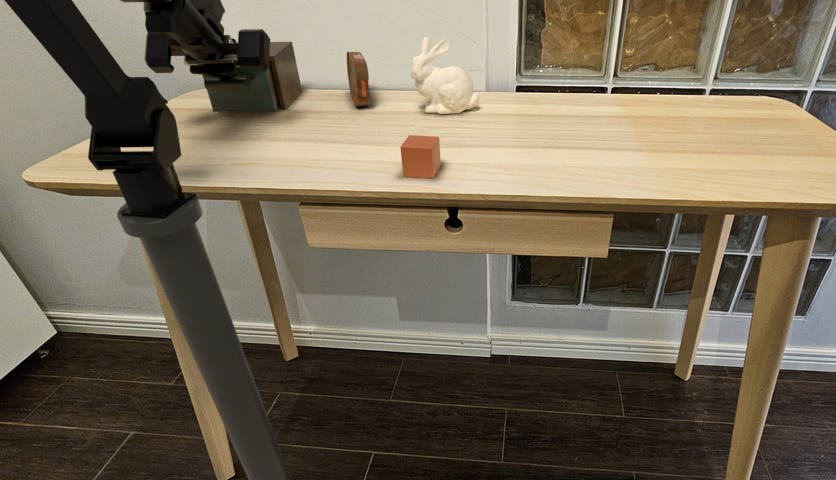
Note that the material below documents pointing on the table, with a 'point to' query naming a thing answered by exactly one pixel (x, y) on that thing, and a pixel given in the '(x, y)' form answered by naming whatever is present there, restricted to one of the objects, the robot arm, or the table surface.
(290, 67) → the cabinet
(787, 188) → the table surface
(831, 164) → the table surface
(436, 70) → the rabbit
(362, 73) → the tin
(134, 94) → the robot arm
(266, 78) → the drawer
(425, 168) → the block
